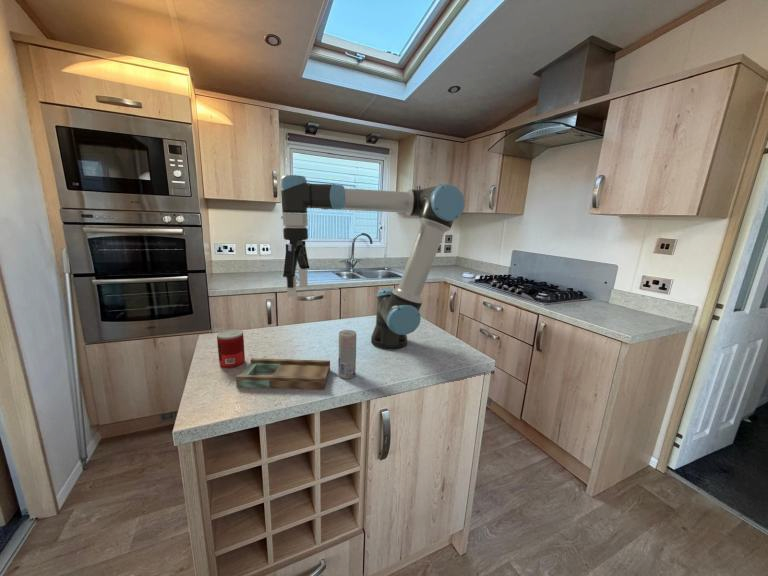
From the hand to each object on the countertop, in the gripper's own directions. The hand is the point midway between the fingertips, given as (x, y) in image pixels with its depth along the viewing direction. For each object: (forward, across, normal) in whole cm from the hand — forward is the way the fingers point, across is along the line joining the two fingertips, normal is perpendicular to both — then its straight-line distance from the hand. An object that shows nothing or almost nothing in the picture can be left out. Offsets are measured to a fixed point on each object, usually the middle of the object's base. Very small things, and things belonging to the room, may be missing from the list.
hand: (298, 292), depth 103 cm
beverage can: (+26, +7, +17) cm, 32 cm away
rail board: (+26, +11, -2) cm, 28 cm away
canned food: (+26, +3, -23) cm, 34 cm away
